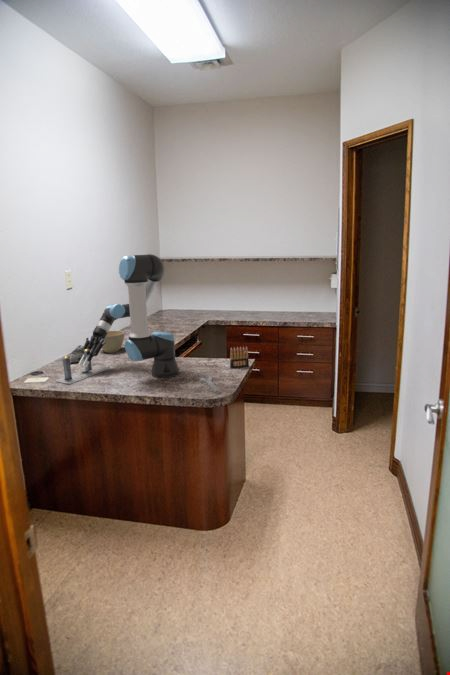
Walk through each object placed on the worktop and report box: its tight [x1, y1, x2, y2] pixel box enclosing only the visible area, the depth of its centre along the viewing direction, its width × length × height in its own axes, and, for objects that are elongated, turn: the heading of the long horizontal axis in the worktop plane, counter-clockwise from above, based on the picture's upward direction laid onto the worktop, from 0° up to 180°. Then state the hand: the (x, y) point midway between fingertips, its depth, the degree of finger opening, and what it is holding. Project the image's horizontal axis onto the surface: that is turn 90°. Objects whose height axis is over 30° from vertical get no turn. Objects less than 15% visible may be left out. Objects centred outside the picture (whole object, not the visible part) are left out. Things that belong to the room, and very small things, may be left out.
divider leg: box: [84, 349, 93, 371], centre depth 249 cm, size 3×3×12 cm
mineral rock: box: [67, 344, 84, 363], centre depth 275 cm, size 13×11×10 cm
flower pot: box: [101, 330, 125, 354], centre depth 296 cm, size 18×18×12 cm
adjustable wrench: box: [200, 375, 221, 395], centre depth 224 cm, size 25×6×2 cm, turn 13°
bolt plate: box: [55, 355, 111, 385], centre depth 246 cm, size 10×30×13 cm, turn 151°
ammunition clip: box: [229, 345, 250, 370], centre depth 252 cm, size 11×2×12 cm, turn 105°
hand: (82, 365), depth 246 cm, fingers open, 3 cm apart
